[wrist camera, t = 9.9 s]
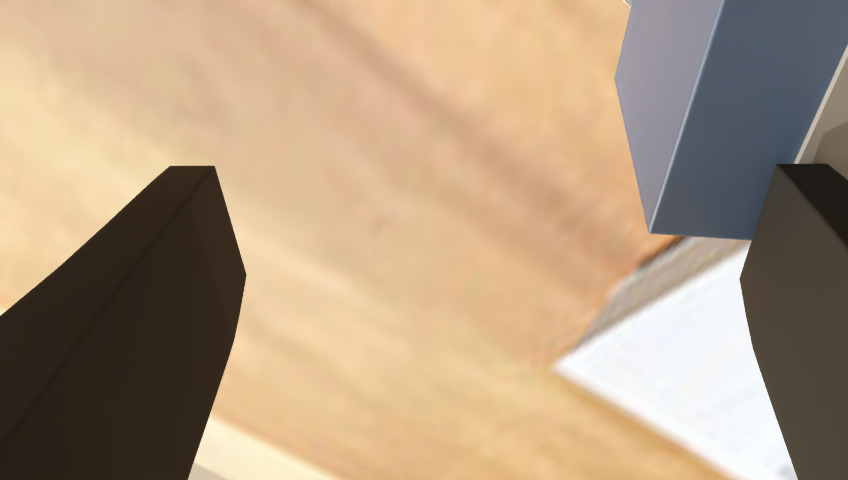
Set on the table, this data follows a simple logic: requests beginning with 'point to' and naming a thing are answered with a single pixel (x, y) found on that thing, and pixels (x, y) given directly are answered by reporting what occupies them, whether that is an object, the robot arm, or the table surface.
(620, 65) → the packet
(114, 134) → the table surface
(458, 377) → the table surface
